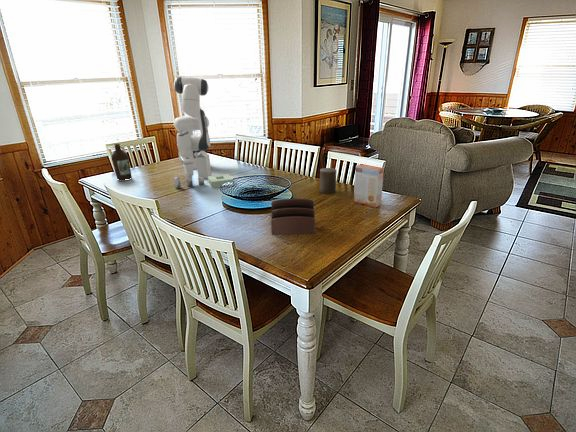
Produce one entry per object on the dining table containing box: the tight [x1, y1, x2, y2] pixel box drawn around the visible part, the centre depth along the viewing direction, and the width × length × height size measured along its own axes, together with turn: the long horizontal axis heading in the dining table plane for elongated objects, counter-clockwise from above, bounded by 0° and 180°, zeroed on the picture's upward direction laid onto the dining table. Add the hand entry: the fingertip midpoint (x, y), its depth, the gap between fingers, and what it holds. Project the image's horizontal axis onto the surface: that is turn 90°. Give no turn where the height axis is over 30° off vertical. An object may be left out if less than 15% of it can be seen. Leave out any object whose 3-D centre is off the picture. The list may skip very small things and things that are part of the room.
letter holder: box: [270, 198, 316, 236], centre depth 156 cm, size 10×20×14 cm, turn 90°
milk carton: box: [196, 151, 212, 179], centre depth 237 cm, size 7×7×19 cm
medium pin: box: [173, 176, 182, 190], centre depth 218 cm, size 4×4×7 cm
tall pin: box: [184, 171, 194, 188], centre depth 220 cm, size 4×4×10 cm
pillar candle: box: [319, 167, 337, 195], centre depth 204 cm, size 10×10×15 cm
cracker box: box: [353, 163, 385, 209], centre depth 183 cm, size 14×6×21 cm, turn 45°
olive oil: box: [111, 142, 133, 180], centre depth 235 cm, size 11×11×25 cm
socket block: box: [207, 173, 234, 189], centre depth 225 cm, size 14×14×4 cm
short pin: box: [197, 177, 205, 187], centre depth 224 cm, size 4×4×5 cm
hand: (189, 179), depth 220 cm, fingers open, 8 cm apart
